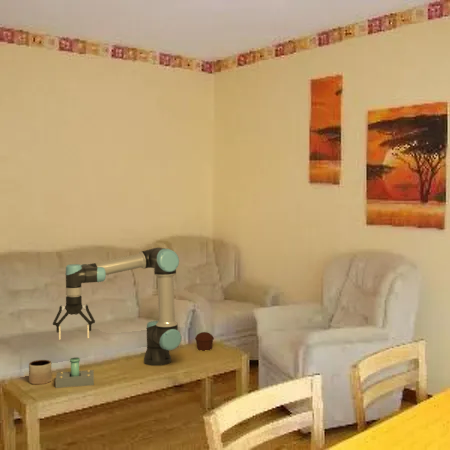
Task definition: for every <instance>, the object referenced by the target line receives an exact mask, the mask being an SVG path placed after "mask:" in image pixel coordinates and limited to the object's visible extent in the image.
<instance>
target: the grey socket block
mask: <svg viewBox="0 0 450 450" xmlns="http://www.w3.org/2000/svg"><path fill="white" fill-rule="evenodd" d="M94 372H95V371H94V369H89V370H88V369H87V370H86V369H85V370H79V376H73V377H71V371H61V372H60V371H59V372H56V376H55V388H56V389H57V388H58V389H60V388H71V387H72V388H73V387H85V386H94V385H95V382H94V381H95V378H94V375H95V373H94Z"/></svg>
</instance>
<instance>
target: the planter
mask: <svg viewBox="0 0 450 450" xmlns="http://www.w3.org/2000/svg"><path fill="white" fill-rule="evenodd" d="M52 373H53V372H52V360H50V359H49V360H48V359H37V360H32V361H30V362H29V363H28V382H29V383H30V384H31V385H46V384H48V383H50V382H51V381H52V380H53V379H52V378H53V377H52V376H53V375H52Z"/></svg>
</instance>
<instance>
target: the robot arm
mask: <svg viewBox="0 0 450 450" xmlns="http://www.w3.org/2000/svg"><path fill="white" fill-rule="evenodd" d="M179 265H180V258H179V256H178V254H177V252H176V251H174V250H172V249H171V248H164V247H153V248H150V249H146V250H141V251H139V252H138V253H137V254H136V253H135V254H131V255H128V256H127V255H126V256H123V257H122V256H121V257H118V258H113V259H112V258H111V259H107V260H102V261H98V262H93V263H90V264H79V263H72V264H67V265H66V266H65V305H61V304H60V305H59V307H58V312H57V314H56V316H55V318H54V320H53V322H52V325H53V326H55V327H56V333H58V340H59V341H60V340H61V339H62V325H61V324H62V323H63V322H64V320H65V319H66V318H67V317H68V316H69V315H72V316H73V315H80V316H81V317H82V318H83V320H85V322H86V323H87V325H86V326H87V327H86V328H87V329H86V331H87V339H90V332H91V331H92V325H94V324H95V322H96V320H95V319H94V316H93V314H92V313H91V311H90V309H89V304H84V305H83V302H82V301H83V300H82V294H83V293H82V284H87V283H90V284H91V283H101V282H102V283H103V282H104V281H105V280H106V276H108V275H112V274H116V273H117V274H118V273H122V272H126V271H131V270H135V269H140V268H141V269H143V270H145V269H154V270H153V271H154V272H153V273H154V276H155V277H156V279H157V308H158V312H157V313H158V320H153V321H148V322H147V323H146V351H145V352H144V357H143V363H144V365H145V364H146V365H147V366H148V365H149V366H163V365H168V364H170V363H171V362H172V356H171V354H170V351H172V350H173V351H174V350H175V349H177V348H178V347H179V345H180V344H181V342H182V335H181V332H180V331H179V327H178V325H179V324H178V322H177V321H176V318H175V292H174V291H175V286H174V285H175V283H174V276H176V274H177V269H178V267H179ZM64 310H66V312H65V313H64V315H62V317H61V318H60V316H61V313H62V311H64ZM82 310H85V312H87V315H88V317H89V318H90V319H89V318H88V317H87V316H86V314H85V313H84V312H83V311H82ZM59 318H60V319H59ZM58 319H59V320H58Z"/></svg>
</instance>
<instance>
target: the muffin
mask: <svg viewBox="0 0 450 450" xmlns="http://www.w3.org/2000/svg"><path fill="white" fill-rule="evenodd" d="M194 339H195V342H196V349H198V350H197V351H200V350H202V351H201V352H206V351H205V350H209V351H211V350H210V349H212V348H213V342H214V340H215V338H214V336H213V334H211V332H208V331H202V332H199V333H198V334H196V336H195V338H194Z"/></svg>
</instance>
